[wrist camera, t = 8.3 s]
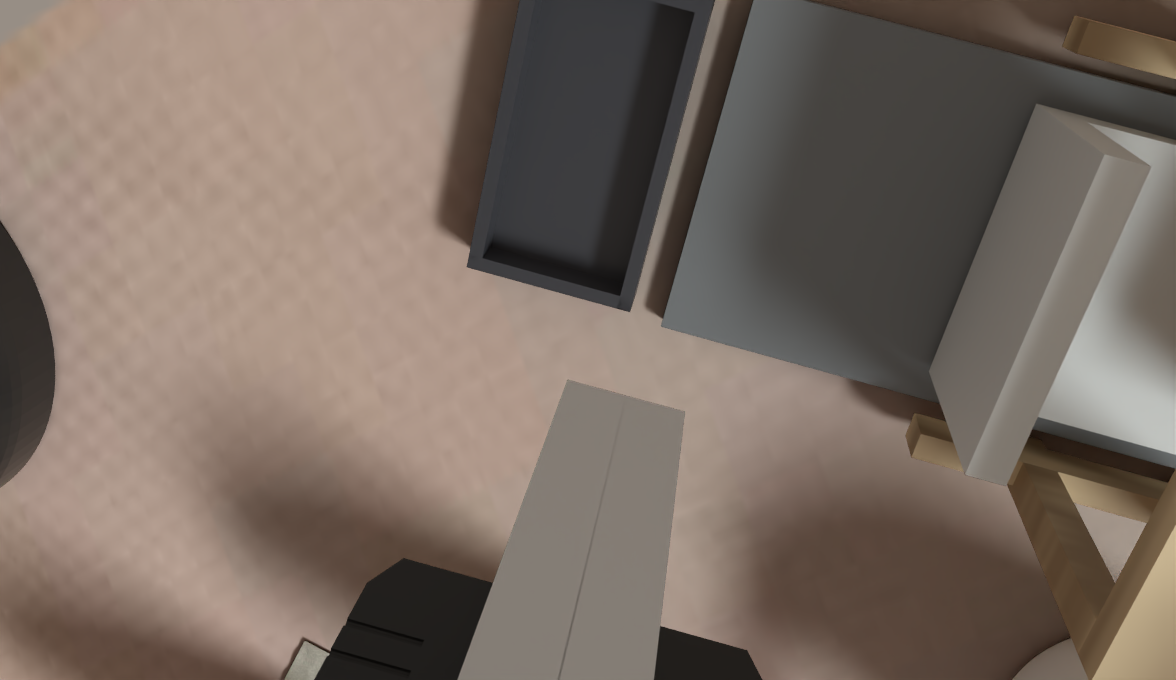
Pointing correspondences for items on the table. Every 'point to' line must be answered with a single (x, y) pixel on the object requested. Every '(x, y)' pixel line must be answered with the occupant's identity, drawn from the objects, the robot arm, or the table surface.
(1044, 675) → the cup
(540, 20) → the pit tray
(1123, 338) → the white u-shaped channel
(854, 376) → the track
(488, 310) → the table surface
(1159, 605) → the bridge
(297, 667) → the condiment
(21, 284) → the robot arm
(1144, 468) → the table surface
